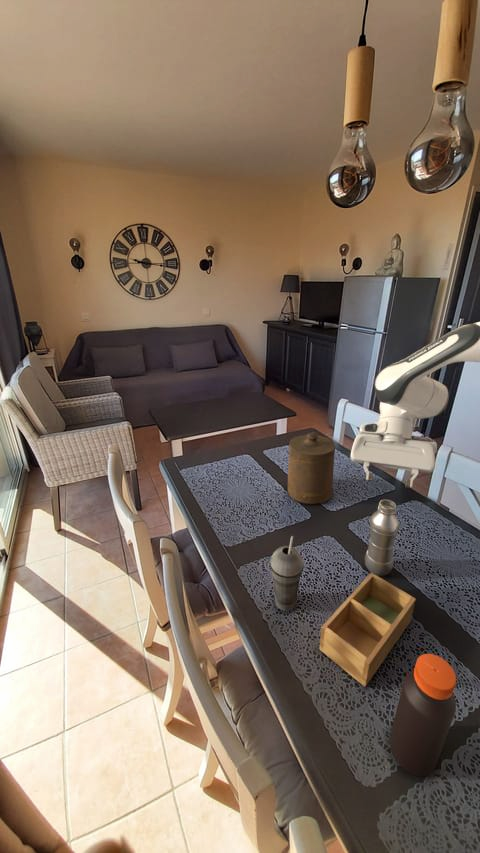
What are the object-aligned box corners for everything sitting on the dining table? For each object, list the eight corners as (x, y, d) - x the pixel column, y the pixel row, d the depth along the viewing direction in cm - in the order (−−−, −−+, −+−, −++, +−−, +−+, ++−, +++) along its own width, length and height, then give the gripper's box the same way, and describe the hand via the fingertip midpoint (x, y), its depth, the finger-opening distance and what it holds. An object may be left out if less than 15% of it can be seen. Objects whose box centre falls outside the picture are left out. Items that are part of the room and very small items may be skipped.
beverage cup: (283, 584, 88) (285, 518, 80) (307, 602, 83) (312, 533, 75) (263, 602, 83) (263, 534, 75) (288, 622, 78) (290, 551, 70)
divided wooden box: (410, 620, 78) (416, 598, 75) (365, 687, 66) (369, 664, 63) (367, 593, 85) (371, 572, 82) (319, 649, 73) (321, 626, 70)
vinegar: (389, 766, 56) (410, 686, 47) (389, 719, 61) (408, 640, 53) (438, 786, 53) (469, 706, 45) (433, 735, 59) (460, 655, 51)
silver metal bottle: (383, 584, 87) (395, 517, 79) (358, 568, 92) (367, 503, 84) (396, 570, 91) (409, 504, 83) (371, 555, 96) (381, 492, 87)
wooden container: (317, 476, 132) (321, 421, 123) (340, 498, 119) (346, 439, 110) (280, 484, 128) (281, 428, 119) (299, 508, 115) (302, 447, 106)
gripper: (434, 442, 95) (431, 493, 91) (354, 432, 102) (347, 479, 98) (440, 434, 90) (436, 488, 85) (354, 424, 97) (347, 474, 92)
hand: (388, 483), depth 92 cm, fingers open, 8 cm apart
